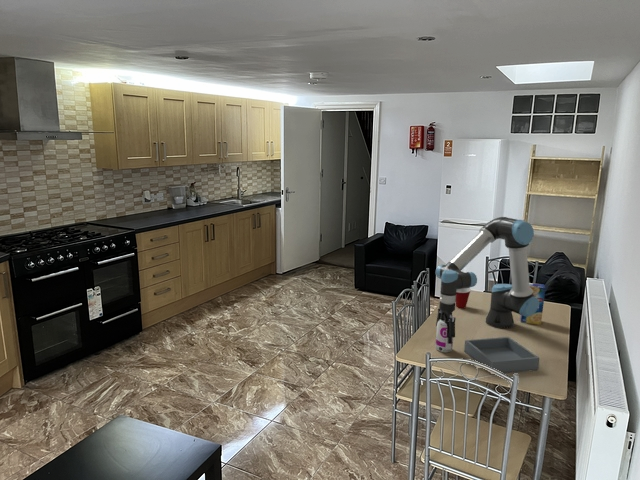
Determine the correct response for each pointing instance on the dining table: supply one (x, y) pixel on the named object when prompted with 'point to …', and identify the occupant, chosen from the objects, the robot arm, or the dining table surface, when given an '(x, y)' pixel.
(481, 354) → the tray
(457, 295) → the plastic cup
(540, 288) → the beverage box
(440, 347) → the supplement can
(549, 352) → the dining table surface
